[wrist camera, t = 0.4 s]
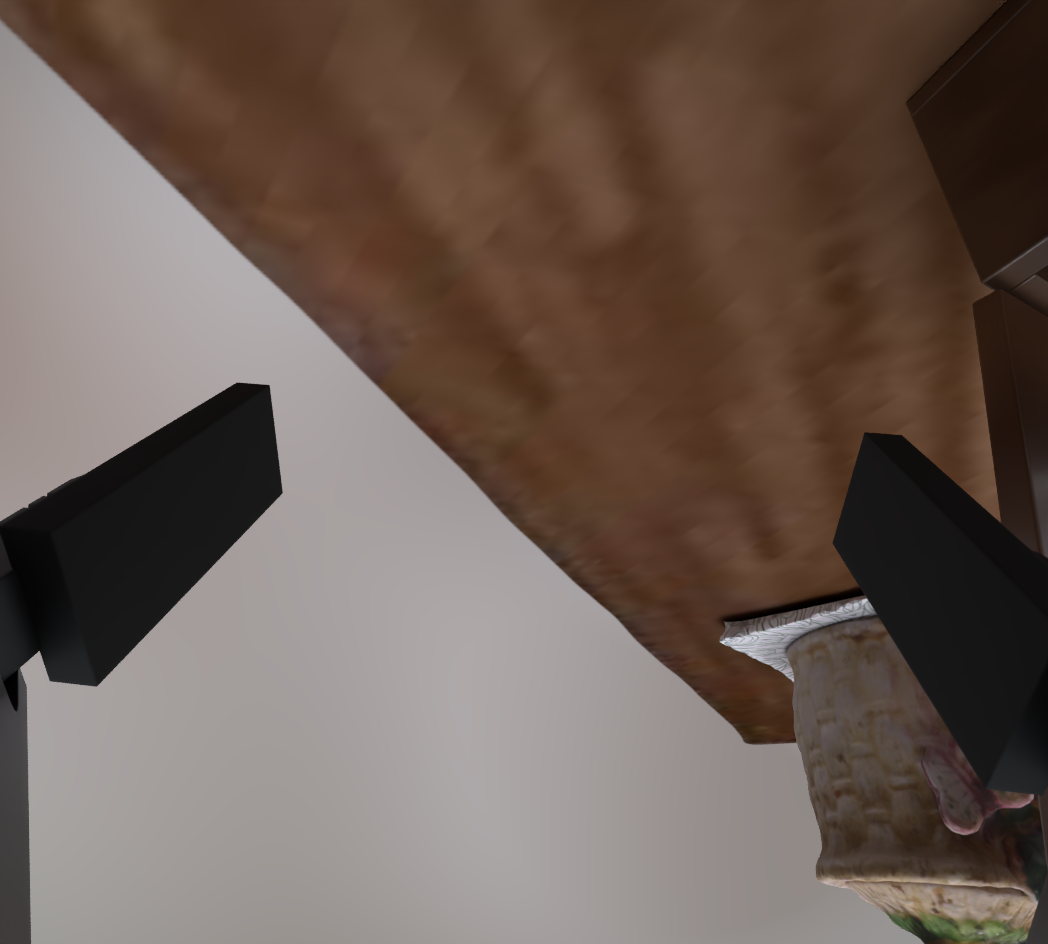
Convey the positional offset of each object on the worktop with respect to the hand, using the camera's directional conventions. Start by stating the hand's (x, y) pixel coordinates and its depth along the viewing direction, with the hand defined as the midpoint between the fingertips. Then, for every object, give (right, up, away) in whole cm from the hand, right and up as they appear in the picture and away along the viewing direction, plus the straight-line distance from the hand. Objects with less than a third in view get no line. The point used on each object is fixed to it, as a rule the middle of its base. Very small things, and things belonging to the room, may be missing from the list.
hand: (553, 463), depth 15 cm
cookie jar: (+34, -16, +48) cm, 61 cm away
